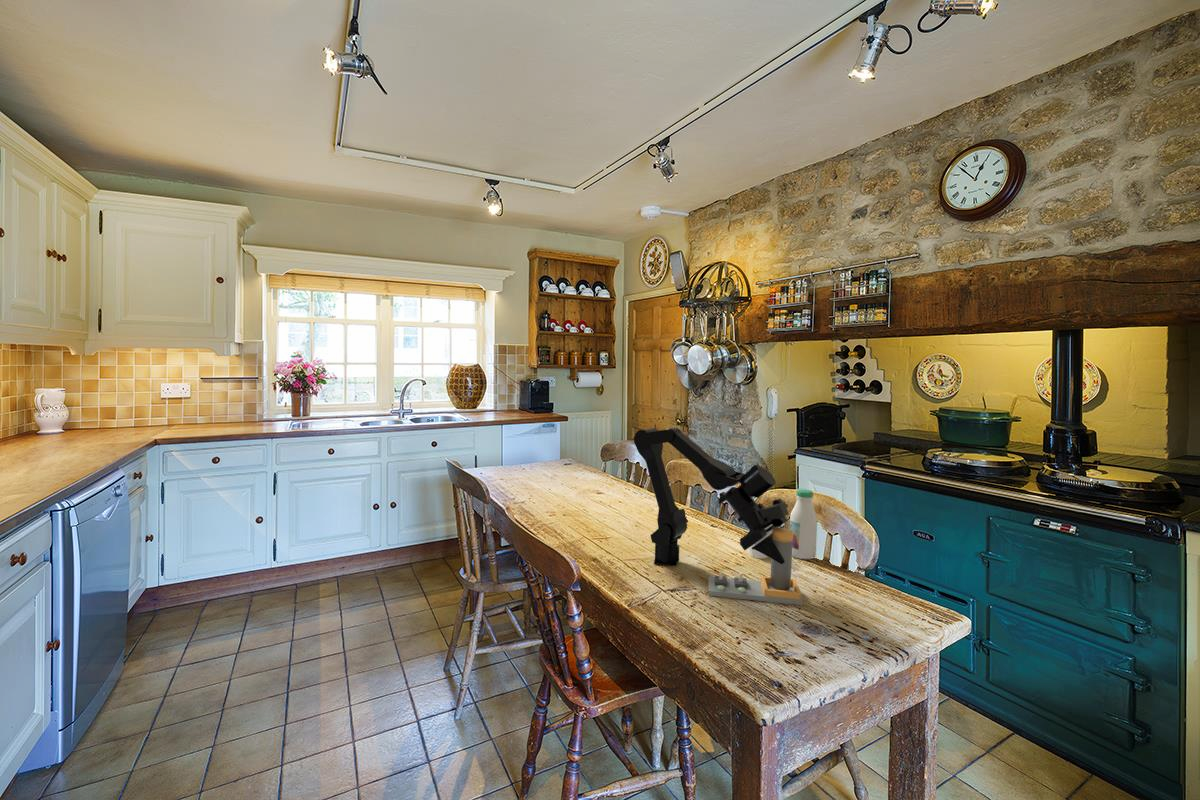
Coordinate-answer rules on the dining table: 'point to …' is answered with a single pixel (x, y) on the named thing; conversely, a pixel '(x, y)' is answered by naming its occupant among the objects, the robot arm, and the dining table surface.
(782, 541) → the grey orange cylinder
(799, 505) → the milk bottle
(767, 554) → the robot arm
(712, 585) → the breaker panel
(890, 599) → the dining table surface
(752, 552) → the white tapered cup
